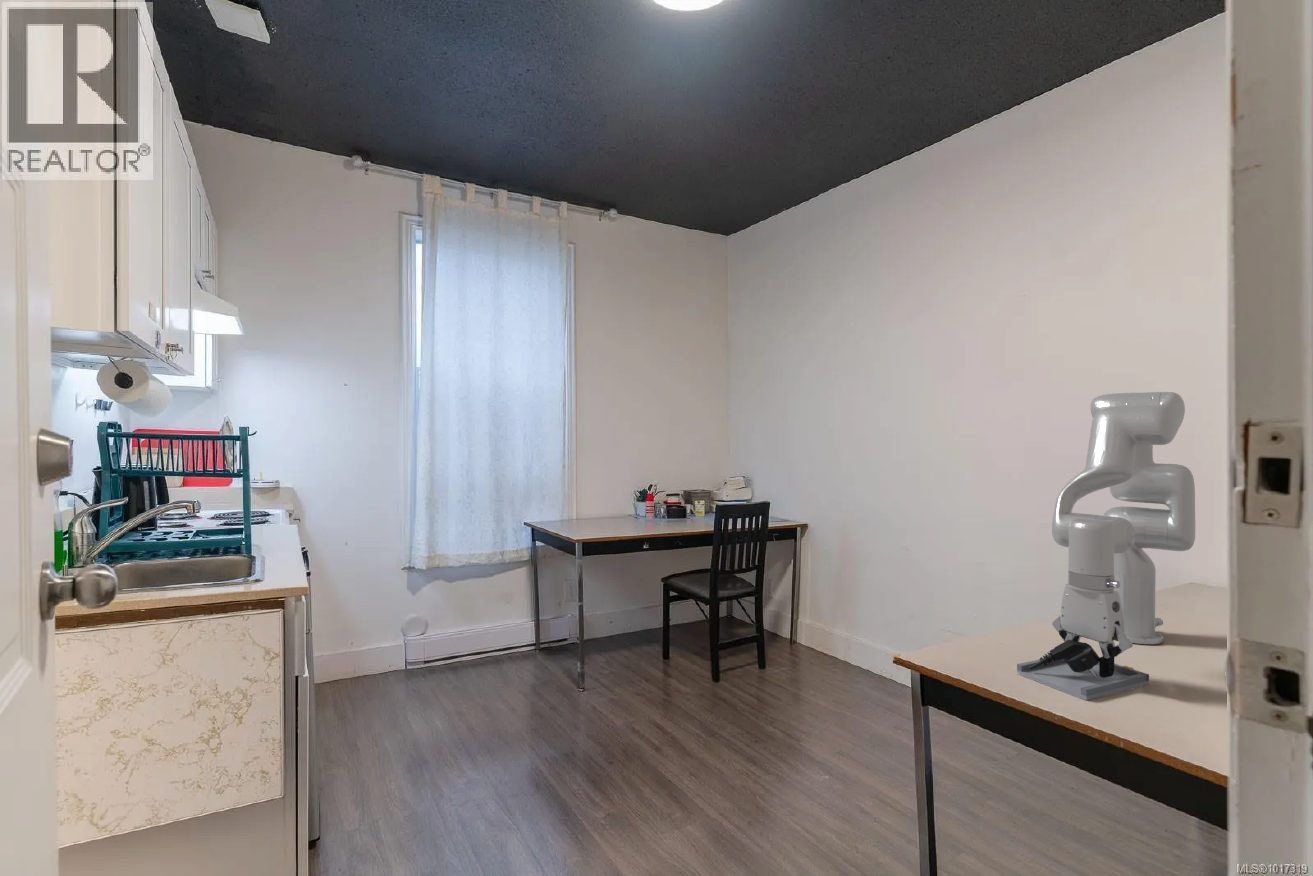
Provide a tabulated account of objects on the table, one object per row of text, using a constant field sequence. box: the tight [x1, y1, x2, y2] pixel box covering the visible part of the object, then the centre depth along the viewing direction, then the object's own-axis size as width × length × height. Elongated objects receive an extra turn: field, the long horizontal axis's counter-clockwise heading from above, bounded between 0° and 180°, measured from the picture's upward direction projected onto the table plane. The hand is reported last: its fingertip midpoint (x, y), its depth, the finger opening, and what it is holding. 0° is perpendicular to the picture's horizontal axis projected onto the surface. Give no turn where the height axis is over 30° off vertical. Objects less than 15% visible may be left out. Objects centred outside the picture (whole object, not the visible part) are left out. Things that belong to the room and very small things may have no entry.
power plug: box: [1029, 640, 1101, 678], centre depth 126 cm, size 6×8×12 cm
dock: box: [1016, 658, 1150, 702], centre depth 126 cm, size 19×14×2 cm
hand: (1090, 670), depth 126 cm, fingers closed on power plug, 5 cm apart
